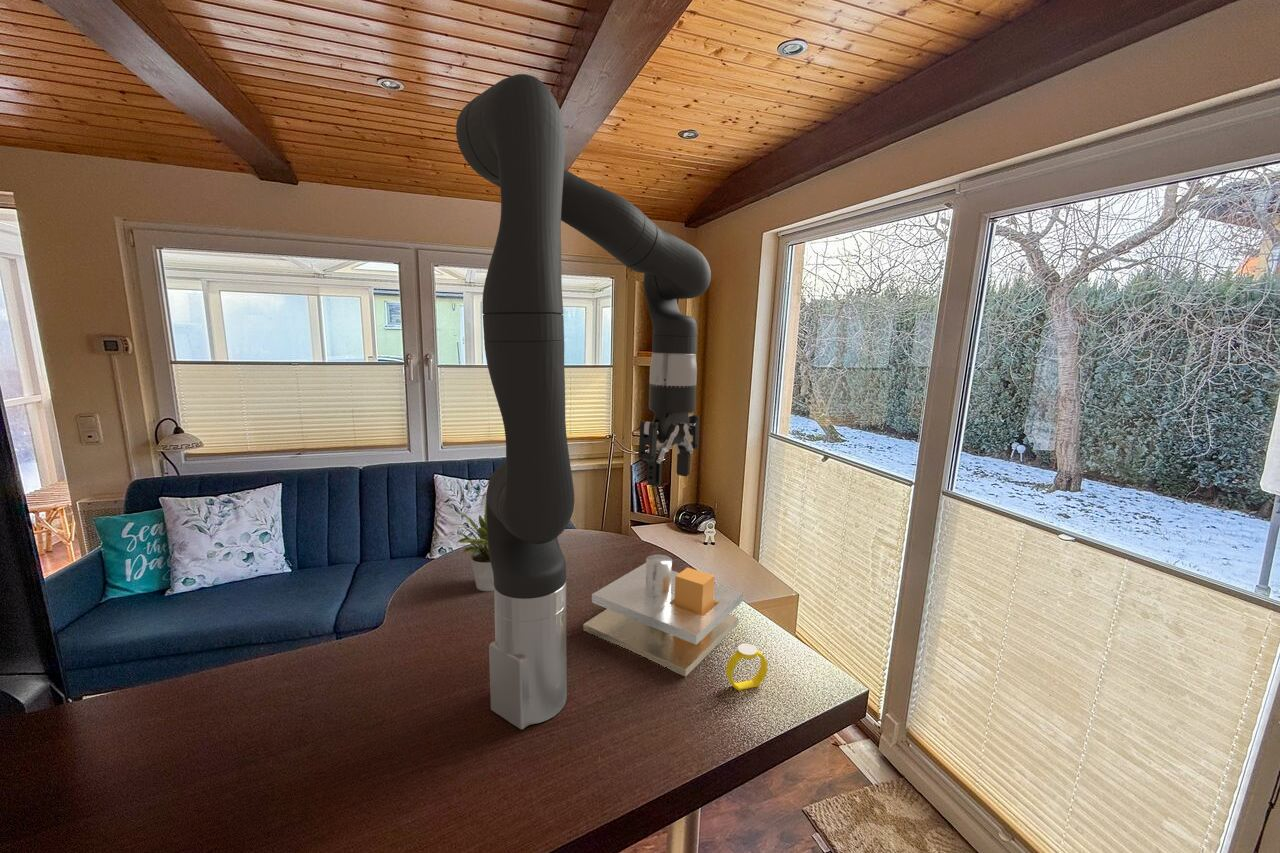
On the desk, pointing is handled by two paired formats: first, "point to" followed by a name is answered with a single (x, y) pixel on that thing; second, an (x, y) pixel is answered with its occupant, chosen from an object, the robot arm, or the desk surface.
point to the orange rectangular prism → (694, 592)
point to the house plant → (479, 554)
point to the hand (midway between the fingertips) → (669, 480)
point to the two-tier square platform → (661, 617)
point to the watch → (748, 653)
